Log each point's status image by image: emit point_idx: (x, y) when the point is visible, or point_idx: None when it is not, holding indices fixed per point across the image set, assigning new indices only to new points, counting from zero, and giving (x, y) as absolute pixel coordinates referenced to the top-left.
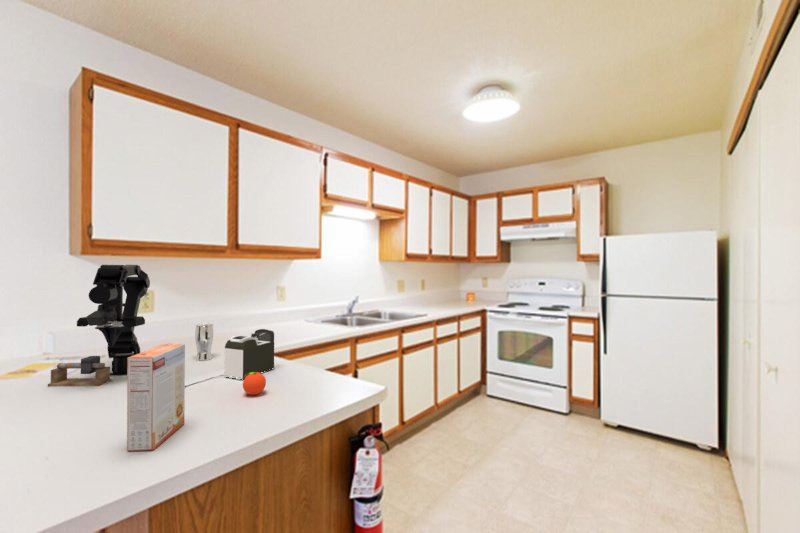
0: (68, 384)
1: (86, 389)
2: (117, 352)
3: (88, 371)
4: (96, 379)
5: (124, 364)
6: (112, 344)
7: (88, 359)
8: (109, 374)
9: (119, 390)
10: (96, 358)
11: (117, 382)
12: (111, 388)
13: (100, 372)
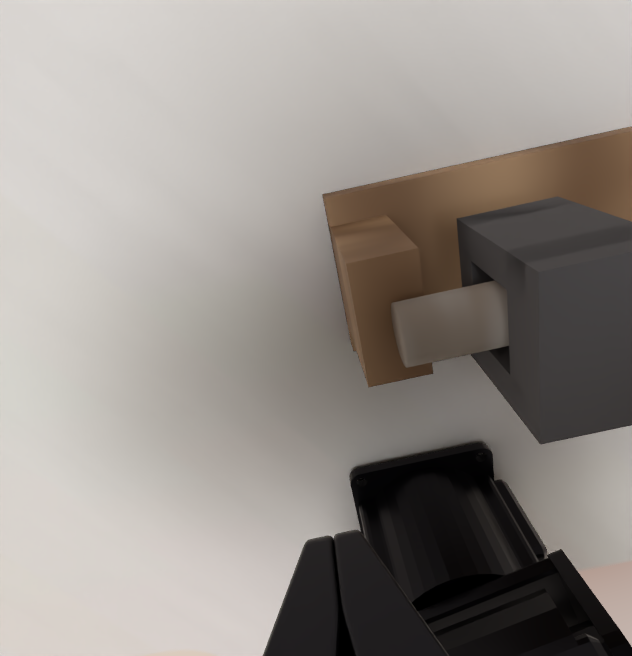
0: (599, 136)
1: (348, 82)
2: (484, 615)
3: (486, 220)
4: (381, 224)
5: (405, 536)
6: (299, 591)
7: (565, 262)
8: (354, 340)
9: (5, 112)
10: (529, 372)
11: (257, 309)
12: (144, 153)
13: (355, 252)
